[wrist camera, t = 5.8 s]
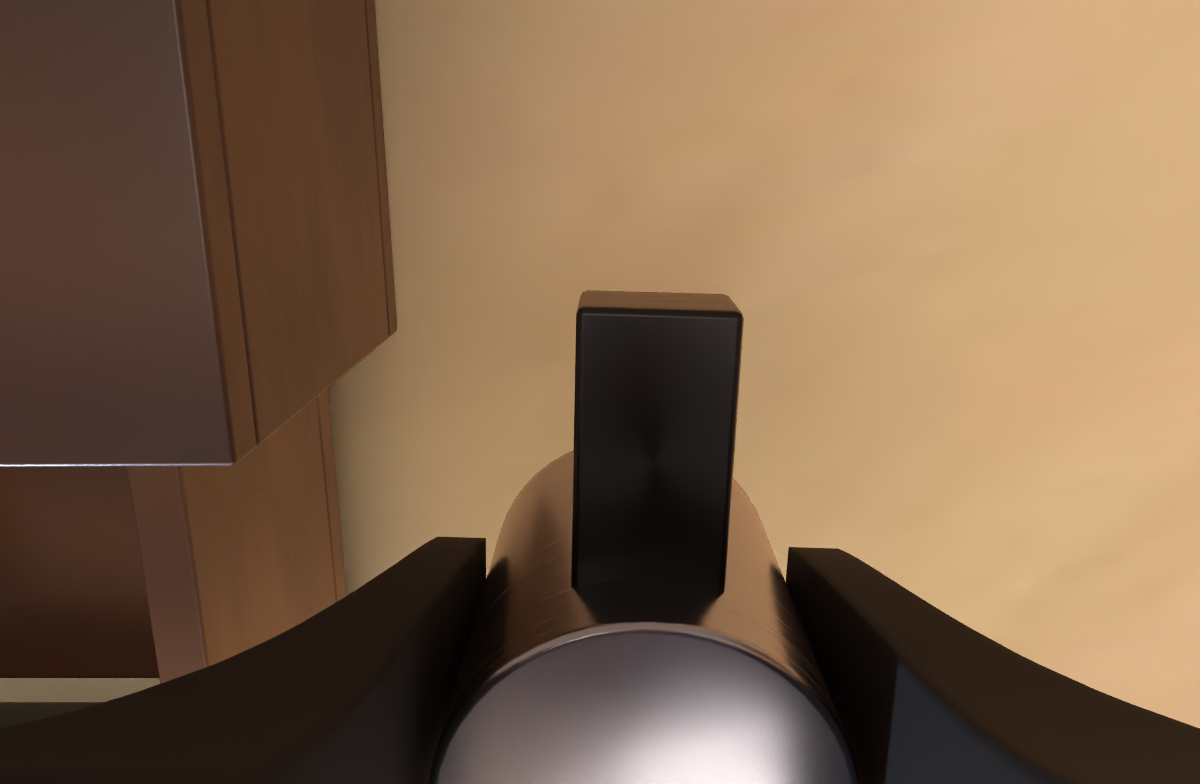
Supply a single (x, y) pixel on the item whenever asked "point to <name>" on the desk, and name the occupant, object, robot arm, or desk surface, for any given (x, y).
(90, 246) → the cabinet
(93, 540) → the drawer
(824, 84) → the desk surface
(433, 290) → the desk surface
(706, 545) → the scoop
